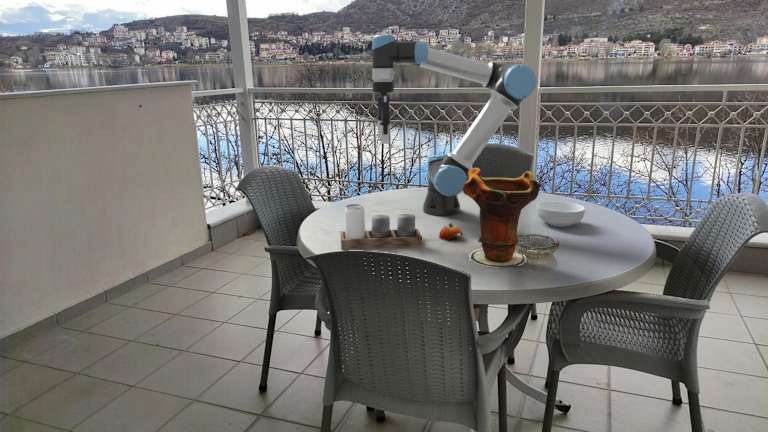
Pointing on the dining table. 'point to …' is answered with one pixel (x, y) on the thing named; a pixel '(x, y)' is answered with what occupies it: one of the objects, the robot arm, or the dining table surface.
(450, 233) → the tomato
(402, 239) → the socket rail
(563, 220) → the cereal bowl
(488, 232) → the decorative vase
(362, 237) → the can
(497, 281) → the dining table surface
